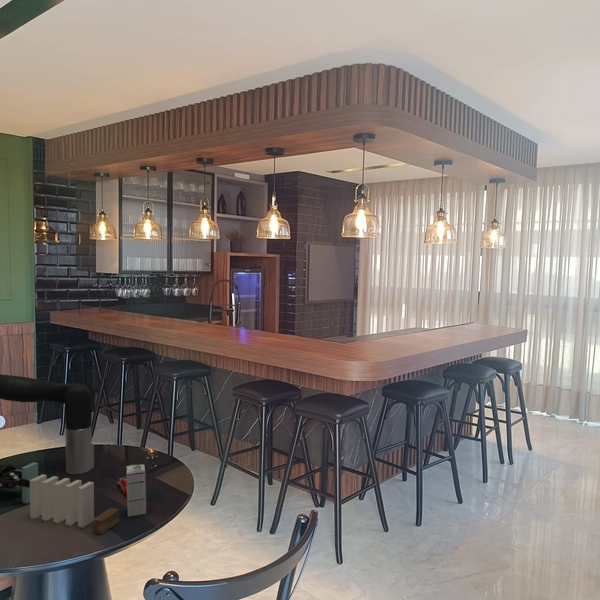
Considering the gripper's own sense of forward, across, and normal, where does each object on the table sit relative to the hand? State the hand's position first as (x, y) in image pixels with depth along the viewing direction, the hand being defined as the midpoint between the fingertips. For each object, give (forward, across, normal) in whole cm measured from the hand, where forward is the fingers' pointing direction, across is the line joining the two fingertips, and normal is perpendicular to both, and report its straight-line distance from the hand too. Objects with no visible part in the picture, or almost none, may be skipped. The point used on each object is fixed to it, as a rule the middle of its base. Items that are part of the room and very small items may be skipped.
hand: (36, 480), depth 169 cm
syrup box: (+36, +4, +7) cm, 37 cm away
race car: (+24, +17, +8) cm, 30 cm away
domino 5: (+22, -8, +7) cm, 24 cm away
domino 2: (+8, -8, +7) cm, 13 cm away
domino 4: (+17, -8, +7) cm, 20 cm away
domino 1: (-3, 0, +7) cm, 7 cm away
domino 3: (+13, -8, +7) cm, 16 cm away
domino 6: (+26, -8, +7) cm, 28 cm away
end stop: (+34, -8, +7) cm, 35 cm away
